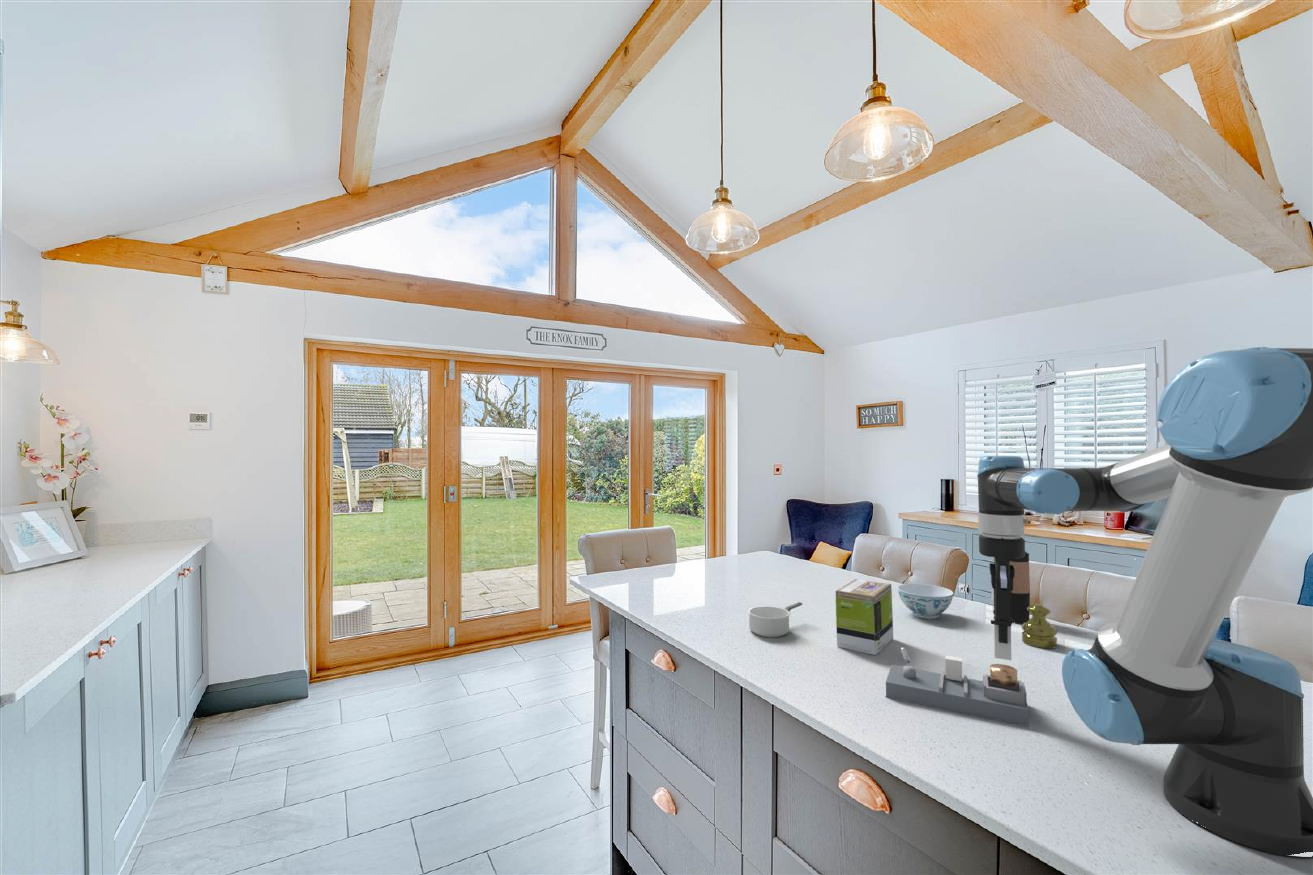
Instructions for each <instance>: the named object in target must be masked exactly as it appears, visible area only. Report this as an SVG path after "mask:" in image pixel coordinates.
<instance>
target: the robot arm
mask: <svg viewBox="0 0 1313 875" xmlns="http://www.w3.org/2000/svg"><path fill="white" fill-rule="evenodd" d="M1156 410H1157V411H1156V420H1157V421H1158V422H1161V423H1162V425H1161V426H1160V427H1159V429H1158V430H1159V432H1160V435H1161V436H1162V439H1163V440H1164V441H1165V442H1166V443H1167V444H1165V445H1162V446H1159V447H1157V448H1154V449H1151V450H1148V451H1146V452H1143V453H1140V454H1137V455H1134V456H1132V457H1128V458H1126V459H1123V460H1121V461H1118V462H1115V463H1113V464H1110V465H1107V466H1104V467H1088V468H1087V467H1079V468H1078V467H1072V468H1070V467H1069V468H1067V467H1066V468H1065V467H1063V468H1062V467H1060V468H1059V467H1058V468H1057V467H1051V468H1050V467H1040V468H1039V467H1037V468H1036V467H1025V463H1024V459H1023V457H1021V456H1018V455H983V456H981V457H980V458H979V459H978V470H977V471H978V472H977V475H976V476H977V490H978V491H977V493H978V495H977V496H978V498H977V500H978V512H977V514H978V515H977V517H978V521H977V522H978V526H977V528H978V532H979V533H980V535H979V536H978V551H979V553H980V554H981V555H982V556H985V557H987V558H989V557H990V558H993V563H989V573H990V582H991V588H992V589H993V610H992V613H993V615H994V616H993V619H990V625H993V636H994V637H993V639H994V640H993V642H994V645H993V646H994V651H993V653H994V654H993V655H994V658H995V659H999V660H1005V661H1012V625H1013V624H1015V623H1014V619H1011V591H1013V578H1014V576H1015V569H1014V568H1013V565H1010V562H1009V560H1010V559H1020V558H1023V557H1024V556H1025V551H1026V542H1025V541H1026V540H1025V539H1024V538H1023V537H1022V536H1024V535H1025V525H1028V524H1029V520H1028V519H1026V518H1025V511H1026V510H1027V511H1032V512H1035V513H1038V514H1042V515H1043V514H1050V515H1061V514H1065V513H1067V512H1118V513H1119V512H1120V513H1129V512H1135V511H1137V512H1138V511H1144V510H1147V509H1150V508H1151V507H1152V505H1153V504H1155V503H1156V501H1160V500H1164V499H1167V502H1166V504H1165V506H1164V508H1163V511H1162V513H1161V517H1160V519H1159V521H1158V522H1157V523H1158V524H1157V527H1156V528H1155V531H1154V534H1153V536H1152V538H1151V540H1150V543H1149V546H1148V548H1147V550H1146V553H1145V556H1144V558H1143V560H1142V561H1141V562H1142V563H1141V566H1140V568H1139V570H1138V573H1137V575H1136V577H1135V579H1134V583H1133V585H1132V587H1131V590H1130V592H1129V595H1128V597H1127V599H1126V602H1125V604H1124V607H1123V609H1122V612H1121V614H1120V616H1119V619H1118V621H1113V622H1109V623H1106V624H1103V626H1101V627H1100V628H1099V630H1098V632H1097V635H1096V637H1095V639H1094V642H1093V644H1092V647H1091V648H1090V649H1085V648H1077V649H1076V650H1071V651H1069V652H1067V653H1066V655H1065V656H1064V658H1063V660H1062V664H1061V677H1062V682H1063V687H1064V689H1065V691H1066V695H1067V697H1068V700H1069V703H1070V704H1071V706H1072V708H1073V709H1074V711H1075V713H1076V714H1077V715H1078V717H1079V718H1080V720H1081V721H1082V722H1083V724H1085V726H1086V727H1087V728H1088V729H1089V730H1091V731H1092V732H1093V734H1095V735H1097V736H1098V737H1100V738H1101V739H1102V740H1105V741H1108V742H1111V743H1118V744H1129V745H1131V746H1140V745H1177V747H1176V749H1175V751H1174V753H1173V756H1172V758H1171V759H1170V762H1169V764H1168V766H1167V769H1166V770H1165V772H1164V775H1163V782H1162V783H1163V795H1164V797H1165V800H1166V801H1167V802H1168V803H1169V805H1170V806H1171V807H1172V808H1173V809H1175V811H1177V812H1178V813H1179V814H1181V815H1182V816H1183V815H1184V817H1185V818H1186V817H1188V818H1189V819H1191V820H1193V821H1194V822H1198V824H1200V825H1202V826H1204V827H1206V828H1207V829H1208V830H1207V829H1206V830H1207V831H1209V830H1211V831H1212V832H1211V831H1210V832H1211V833H1214V834H1216V835H1218V836H1220V837H1222V838H1225V839H1227V840H1229V841H1231V842H1235V843H1237V844H1239V843H1240V845H1243V846H1246V847H1248V848H1252V849H1255V850H1259V851H1262V852H1266V853H1270V854H1274V855H1279V856H1283V855H1292V854H1293V855H1294V854H1300V853H1304V852H1305V853H1306V852H1313V796H1312V793H1311V790H1310V789H1309V787H1308V784H1307V782H1306V780H1305V779H1306V778H1305V773H1304V772H1305V770H1304V769H1305V768H1304V765H1305V764H1304V761H1305V760H1304V758H1305V756H1304V755H1305V754H1304V749H1305V748H1304V700H1303V699H1305V694H1304V693H1303V691H1302V683H1301V682H1302V680H1301V674H1300V672H1299V671H1298V669H1297V668H1296V666H1295V665H1293V663H1291V662H1290V661H1288V660H1287V659H1285V658H1282V657H1279V656H1277V655H1274V654H1272V653H1269V652H1266V651H1264V650H1261V649H1256V648H1254V647H1250V646H1246V645H1243V644H1240V643H1235V642H1231V641H1226V640H1223V639H1217V638H1215V637H1216V635H1217V632H1218V631H1219V629H1220V627H1221V625H1222V623H1223V621H1224V620H1225V617H1226V615H1227V612H1229V611H1228V610H1230V609H1229V608H1230V607H1231V604H1232V603H1233V601H1234V600H1235V597H1236V595H1237V593H1238V591H1239V588H1240V587H1241V586H1242V583H1243V581H1244V580H1245V578H1246V575H1247V573H1248V571H1249V570H1250V567H1251V565H1252V563H1253V561H1254V560H1255V557H1256V555H1257V553H1258V551H1259V549H1260V548H1261V545H1262V543H1263V541H1264V540H1265V537H1266V535H1267V534H1268V532H1269V529H1270V528H1271V525H1272V524H1273V521H1274V520H1275V518H1276V515H1277V514H1278V511H1279V509H1280V507H1281V506H1282V503H1283V501H1284V499H1285V498H1287V497H1289V496H1294V495H1298V494H1303V493H1305V492H1306V493H1307V492H1309V491H1312V490H1313V348H1311V347H1310V348H1308V347H1307V348H1306V347H1305V348H1304V347H1303V348H1301V347H1300V348H1299V347H1297V348H1296V347H1294V348H1293V347H1266V346H1259V347H1247V348H1243V349H1234V350H1233V349H1232V350H1222V351H1218V352H1217V351H1216V352H1214V353H1210V354H1207V355H1204V356H1203V357H1199V359H1197V360H1195V361H1192V362H1190V363H1188V364H1186V365H1185V366H1184V367H1183V368H1182V369H1180V370H1179V371H1178V372H1177V373H1176V374H1175V375H1174V376H1173V377H1172V378H1171V379H1170V381H1169V382H1168V383H1167V385H1166V386H1165V388H1164V390H1163V391H1162V393H1161V395H1160V398H1159V401H1158V405H1157V409H1156ZM1188 818H1187V819H1188ZM1189 819H1188V820H1189ZM1191 820H1190V821H1191ZM1193 821H1192V822H1193ZM1194 822H1193V823H1194ZM1198 824H1197V825H1198Z"/></svg>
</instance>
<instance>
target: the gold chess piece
mask: <svg viewBox="0 0 1313 875" xmlns="http://www.w3.org/2000/svg"><path fill="white" fill-rule="evenodd" d="M1027 610H1028V611H1029V612H1030V614H1031V616H1032V617H1031V618H1029V620H1028V621H1027V622H1024V623H1023V624H1021V629H1022V632H1021V640H1022V642H1023V643H1025V644H1026V645H1027V646H1031V647H1034V646H1035V647H1034V648H1038V647H1040V648H1039V649H1046V648H1047V650H1049V648H1051V649H1055V648H1057V646H1058V638H1057V636H1056V635H1058V634H1057V633H1058V630H1057V628H1056V627H1055V626H1054V625H1052V624H1051V623H1050V622H1049V621H1048V620H1047V619H1046V616H1048V615H1050V614H1051V613H1052V611H1051V610H1050V609H1049V608H1048V607H1046V606H1044V605H1042V604H1039V603H1034V604H1033V605H1031V604H1030V606H1028V607H1027Z"/></svg>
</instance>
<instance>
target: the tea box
mask: <svg viewBox="0 0 1313 875" xmlns="http://www.w3.org/2000/svg"><path fill="white" fill-rule="evenodd" d="M892 593H893V592H892V583H889V582H888V583H887V582H879V581H871V580H863V579H857V578H855V579H853V580H851V581H850V582H848V583H846V584H844V585H842V586H841V587H839V588H838V589H836V590H835V616H836V617H835V619H836V621H835V623H836V624H835V625H836V627H835V628H836V646H837V647H838V648H841V649H844V650H850V651H853V652H858V653H862V654H867V655H872V656H877V654H878V653H879V652H881V651H882V650H883V649H884V648H885V647H886V646H887V645H888V644H889V643H890V642H891V641H892V640H893V639H894V620H893V619H894V617H893V614H894V613H893V596H892V595H893V594H892Z"/></svg>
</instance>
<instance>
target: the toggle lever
mask: <svg viewBox="0 0 1313 875" xmlns="http://www.w3.org/2000/svg"><path fill="white" fill-rule="evenodd" d="M900 651H901V654H902V657H903V659H904V663H905V664H906V665H907V664H908V665H909V664H910V663H911V660H910V657H909V655H908V651H907V649H906V648H905V647H901V648H900Z"/></svg>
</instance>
